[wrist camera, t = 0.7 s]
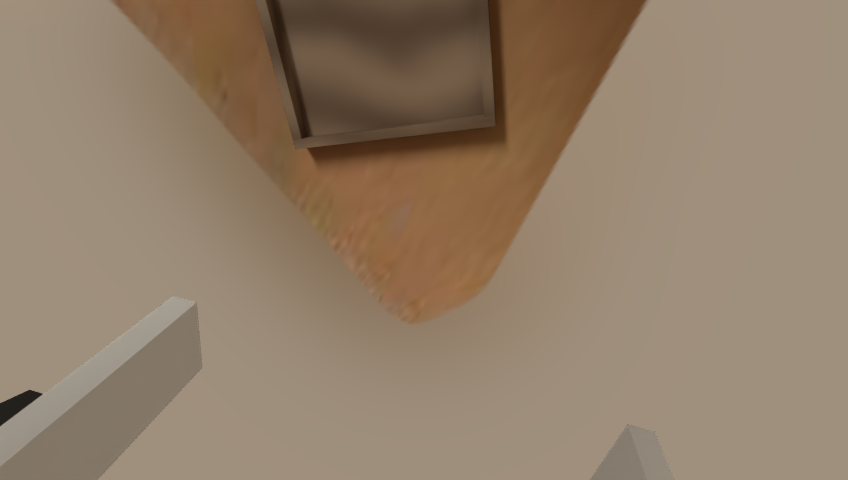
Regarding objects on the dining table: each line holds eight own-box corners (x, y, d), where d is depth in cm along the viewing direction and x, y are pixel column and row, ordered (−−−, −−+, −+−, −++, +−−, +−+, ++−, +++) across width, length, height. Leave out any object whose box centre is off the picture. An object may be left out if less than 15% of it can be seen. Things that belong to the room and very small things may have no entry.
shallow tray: (244, -89, 28) (229, -98, 27) (478, -152, 25) (477, -166, 23) (304, 145, 35) (295, 149, 34) (495, 122, 32) (495, 126, 30)
